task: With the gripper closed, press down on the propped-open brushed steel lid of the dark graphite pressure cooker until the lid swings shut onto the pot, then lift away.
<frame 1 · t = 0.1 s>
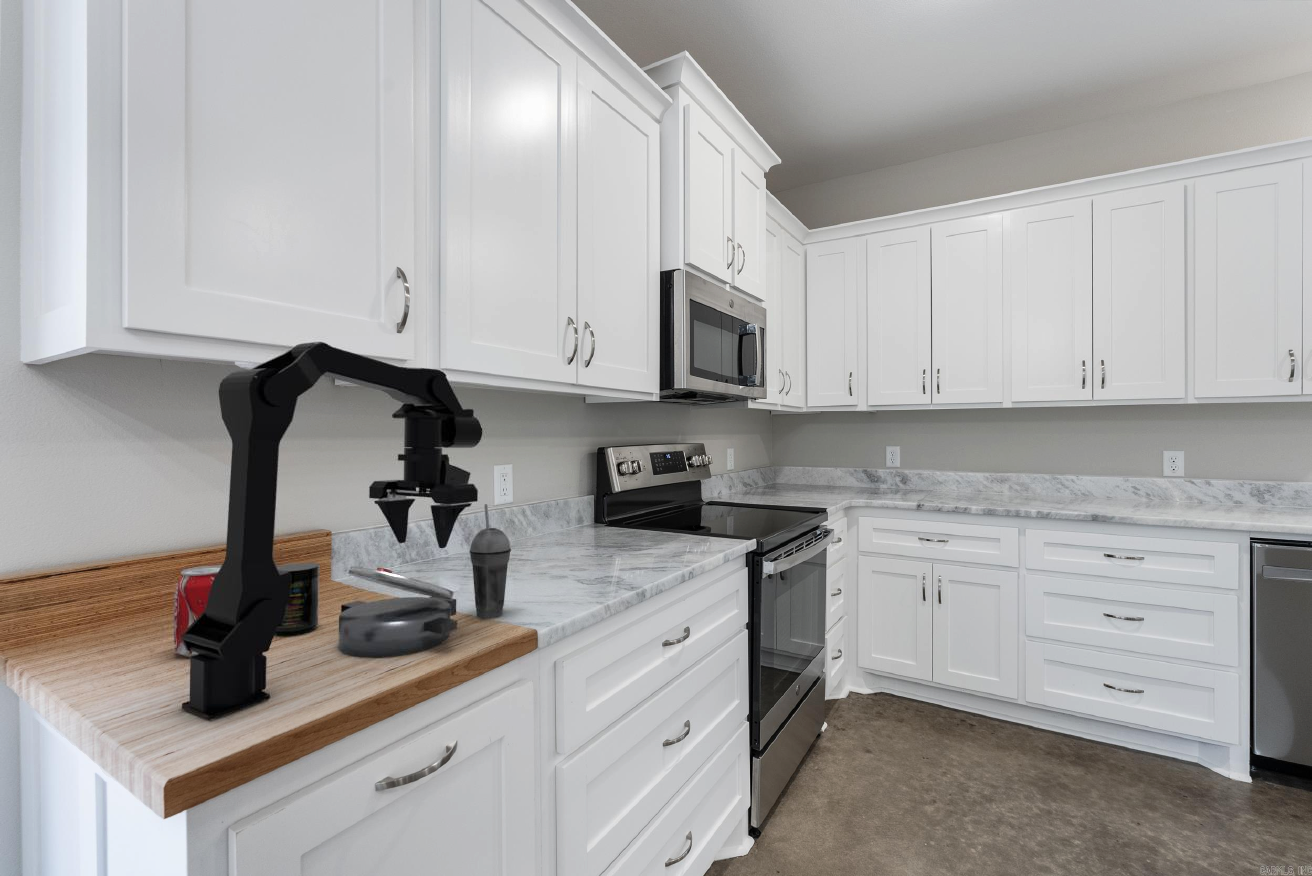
hand: (421, 545, 94), 14 cm above the counter, tool pointing down, fingers open, 9 cm apart
supplement container: (294, 631, 96), on the counter
soda can: (204, 652, 86), on the counter
beverage cup: (489, 615, 106), on the counter
pressure cooker lid: (403, 579, 93), point 9 cm above the counter, hinge at 25.0°
pressure cooker pot: (396, 639, 92), on the counter
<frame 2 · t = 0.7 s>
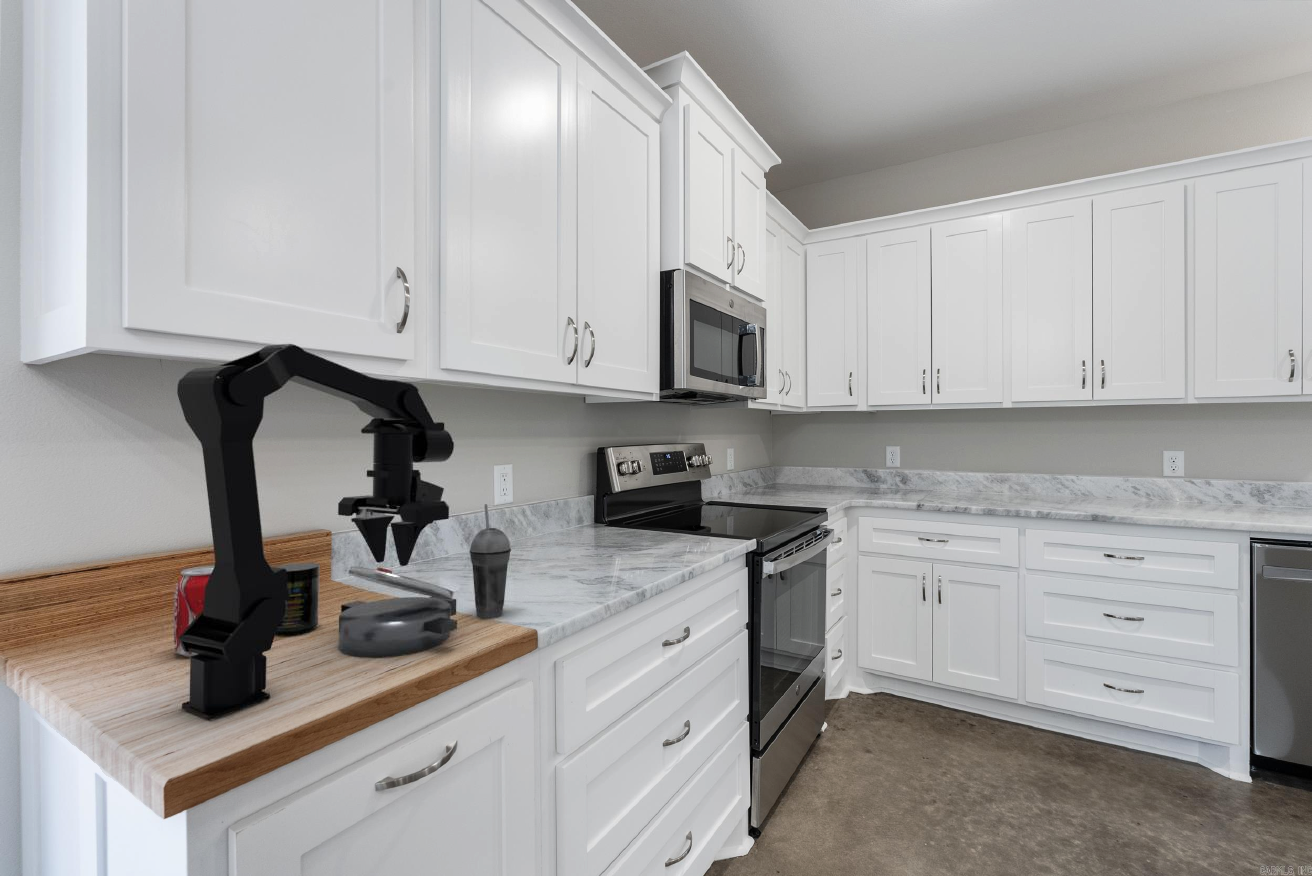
hand: (391, 563, 91), 12 cm above the counter, tool pointing down, fingers open, 5 cm apart
nothing on the counter moved.
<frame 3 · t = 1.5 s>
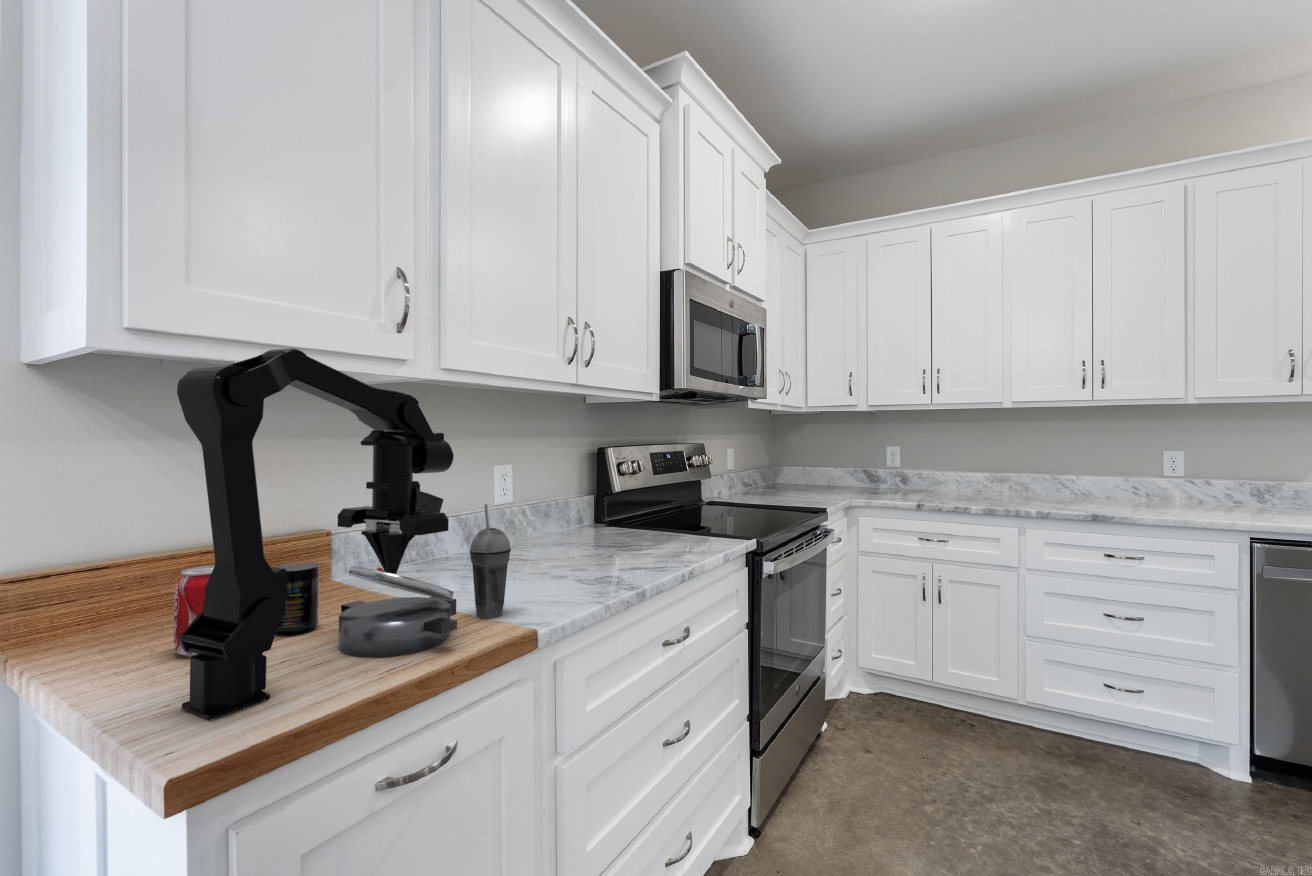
hand: (391, 575, 91), 10 cm above the counter, tool pointing down, fingers closed, pressing on pressure cooker lid
pressure cooker lid: (403, 579, 93), point 9 cm above the counter, hinge at 25.0°, touching gripper
everything else where it was.
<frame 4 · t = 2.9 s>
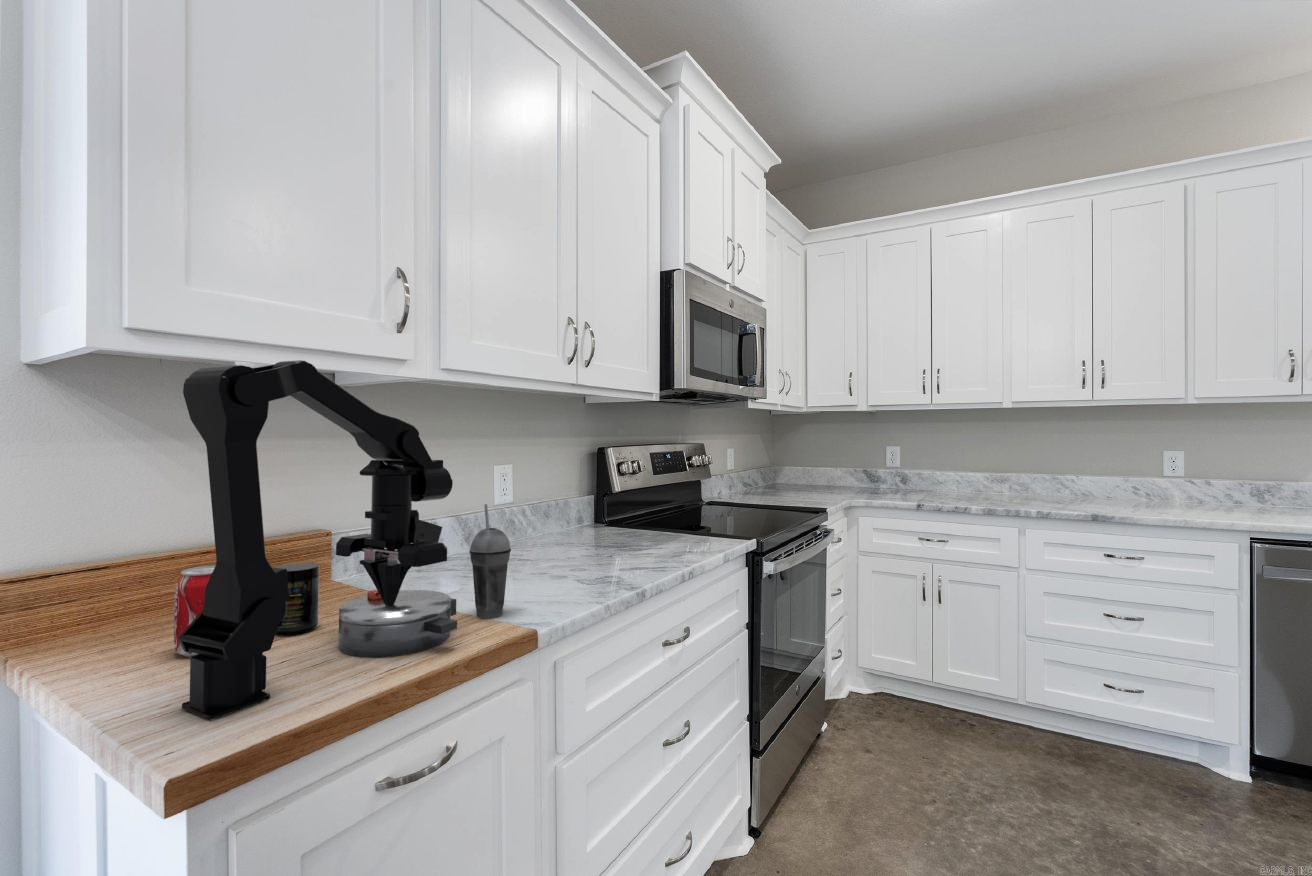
hand: (389, 604, 91), 6 cm above the counter, tool pointing down, fingers closed, pressing on pressure cooker lid
pressure cooker lid: (396, 602, 92), point 6 cm above the counter, hinge at -0.2°, touching gripper
everything else where it was.
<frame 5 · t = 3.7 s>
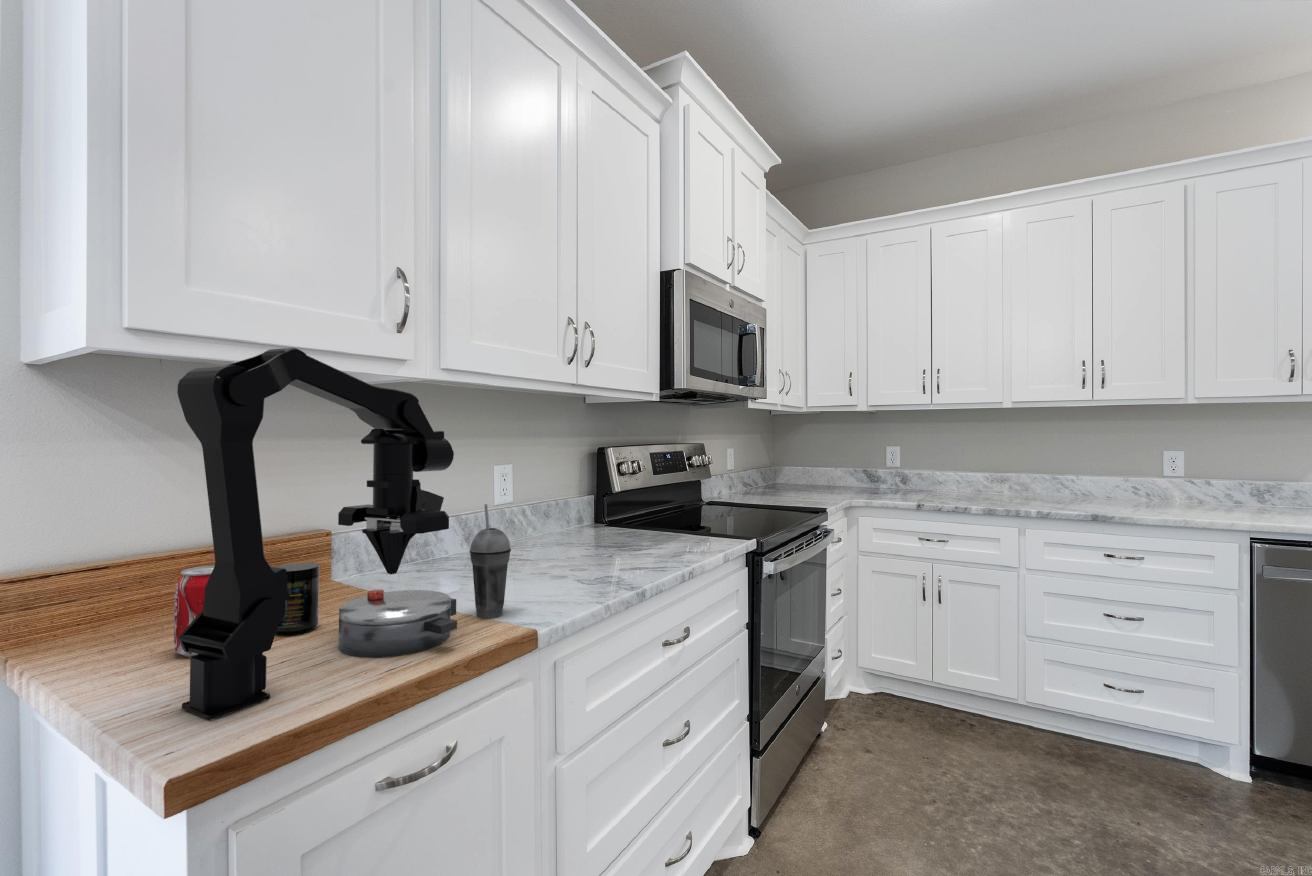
hand: (392, 573, 91), 10 cm above the counter, tool pointing down, fingers closed
pressure cooker lid: (396, 602, 92), point 6 cm above the counter, hinge at -0.2°
everything else where it was.
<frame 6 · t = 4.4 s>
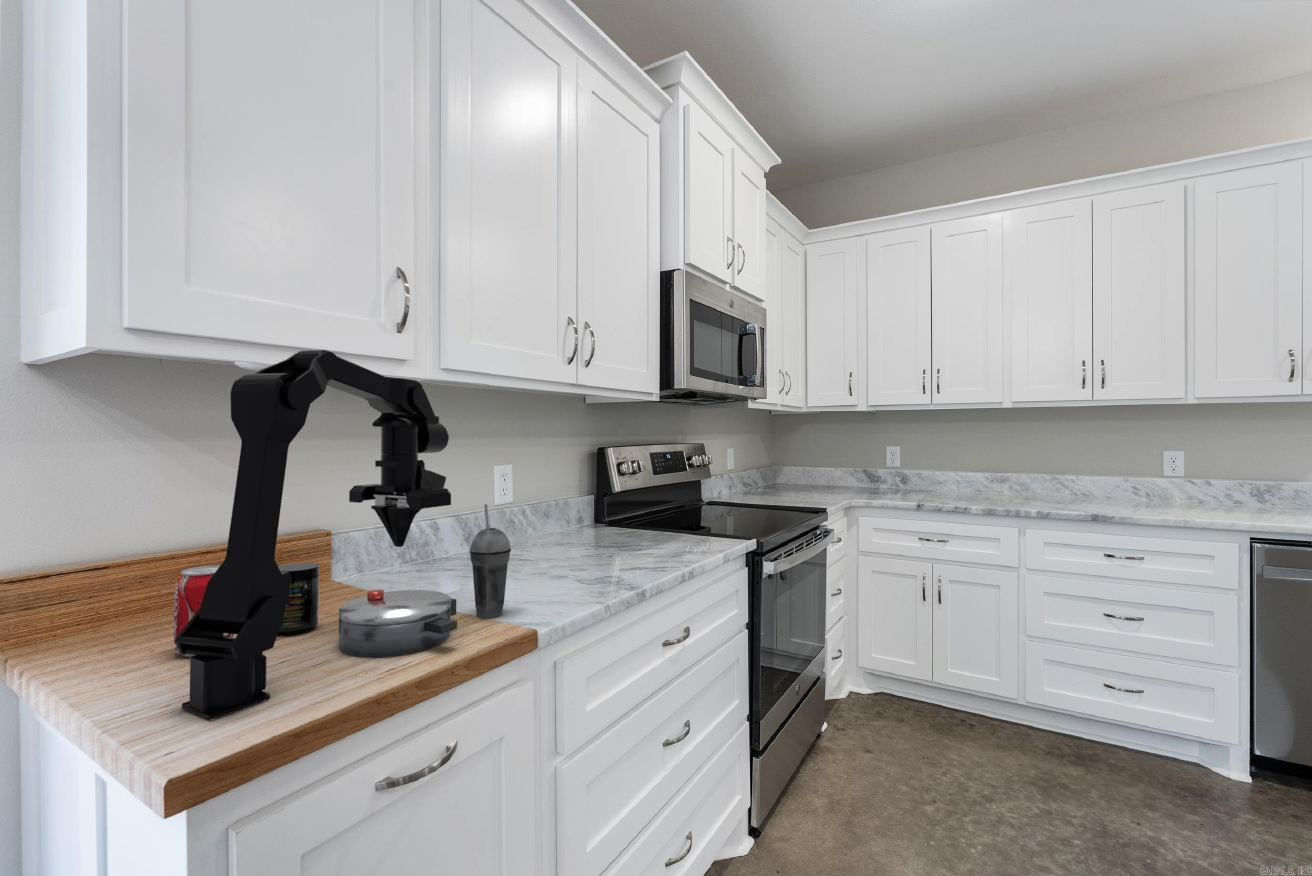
hand: (399, 546, 99), 13 cm above the counter, tool pointing down, fingers closed
nothing on the counter moved.
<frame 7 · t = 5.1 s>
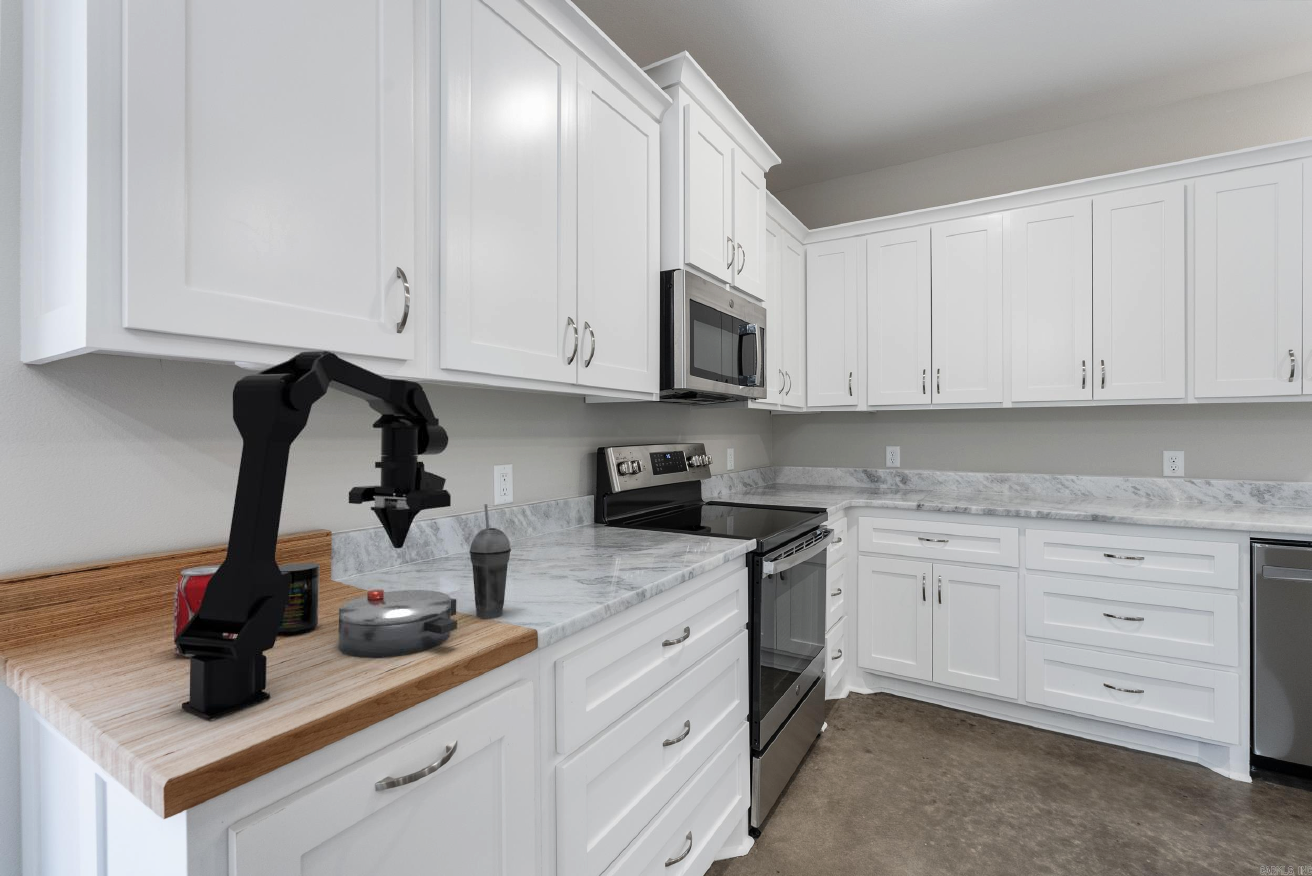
hand: (398, 547, 99), 13 cm above the counter, tool pointing down, fingers closed
nothing on the counter moved.
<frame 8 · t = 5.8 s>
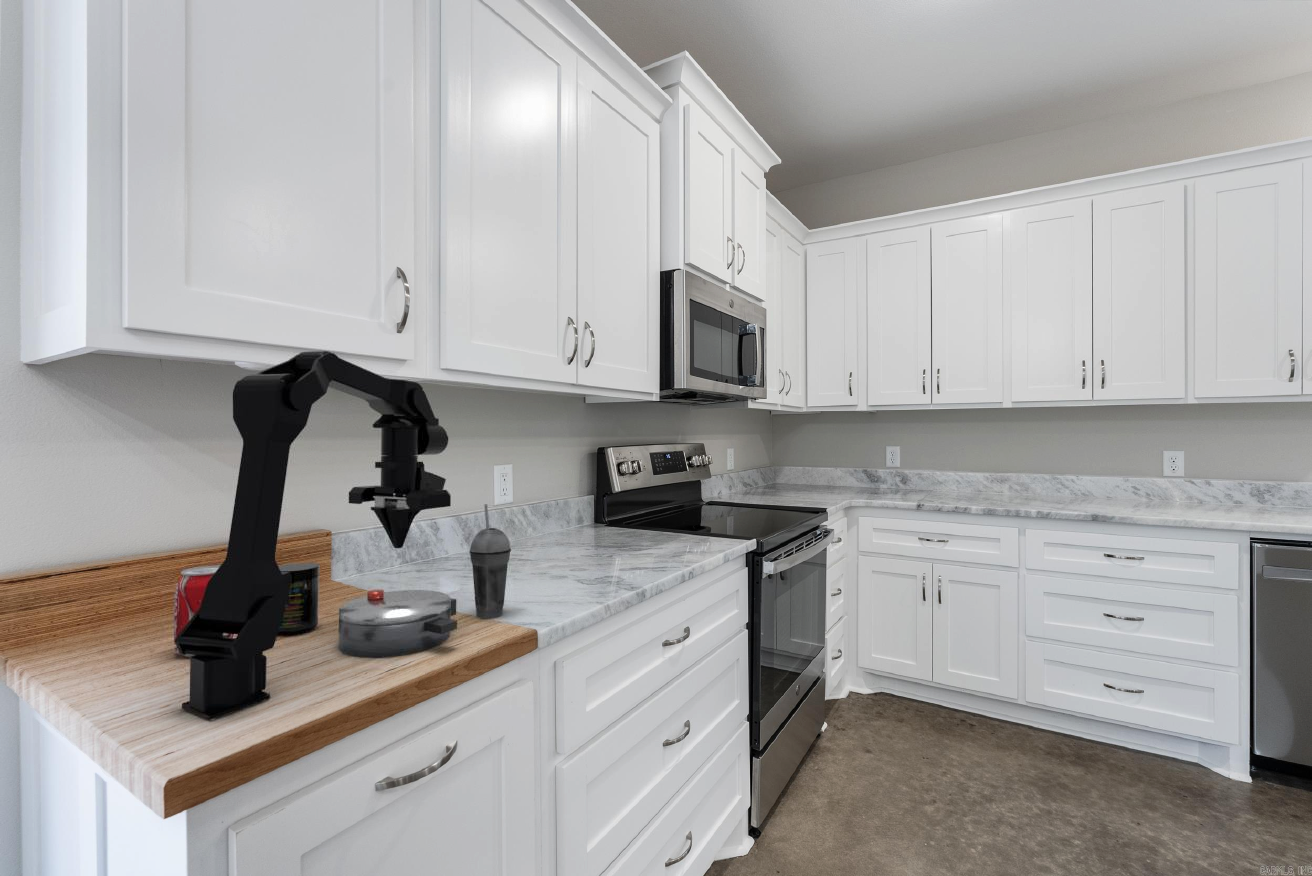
hand: (398, 547, 99), 13 cm above the counter, tool pointing down, fingers closed
nothing on the counter moved.
at the end: pressure cooker lid at +0° (first picture: +25°); beverage cup moved 0.2 cm from its start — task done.
